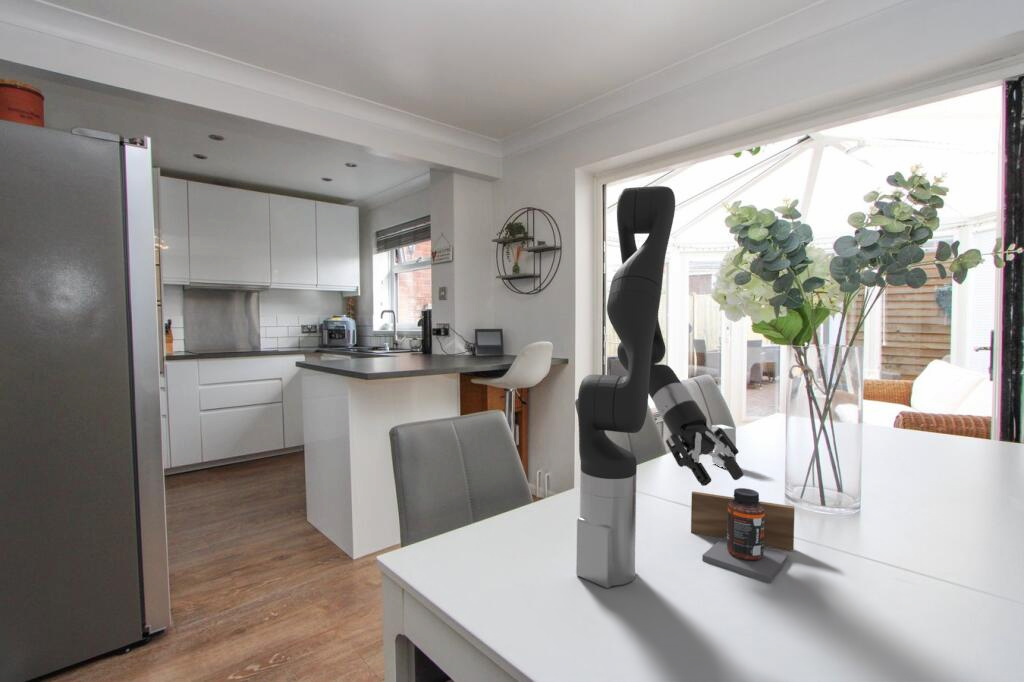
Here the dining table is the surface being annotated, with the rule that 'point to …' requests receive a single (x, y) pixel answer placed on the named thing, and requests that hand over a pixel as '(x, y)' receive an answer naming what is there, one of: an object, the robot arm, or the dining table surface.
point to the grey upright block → (732, 436)
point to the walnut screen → (713, 517)
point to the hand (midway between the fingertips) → (723, 480)
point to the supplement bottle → (745, 525)
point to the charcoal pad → (747, 561)
